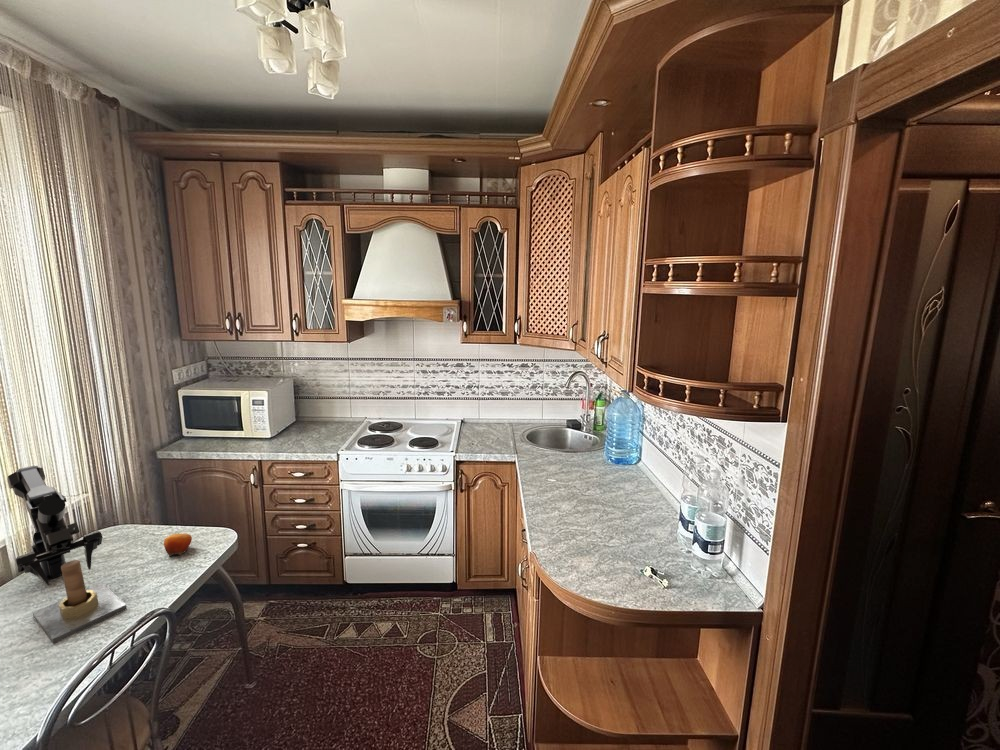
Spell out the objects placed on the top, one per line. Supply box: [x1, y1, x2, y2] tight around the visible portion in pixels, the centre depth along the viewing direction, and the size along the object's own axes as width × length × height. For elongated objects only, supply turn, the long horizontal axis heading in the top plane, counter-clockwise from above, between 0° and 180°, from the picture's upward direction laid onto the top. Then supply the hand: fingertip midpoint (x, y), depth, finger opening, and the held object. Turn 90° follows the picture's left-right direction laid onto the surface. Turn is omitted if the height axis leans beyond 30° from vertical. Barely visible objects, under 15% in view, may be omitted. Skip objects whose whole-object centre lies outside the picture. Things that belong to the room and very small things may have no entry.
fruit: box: [163, 533, 193, 557], centre depth 165 cm, size 8×8×8 cm
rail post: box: [61, 559, 88, 606], centre depth 134 cm, size 4×4×14 cm
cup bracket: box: [32, 582, 127, 645], centre depth 135 cm, size 18×16×4 cm
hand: (69, 576), depth 138 cm, fingers open, 9 cm apart
